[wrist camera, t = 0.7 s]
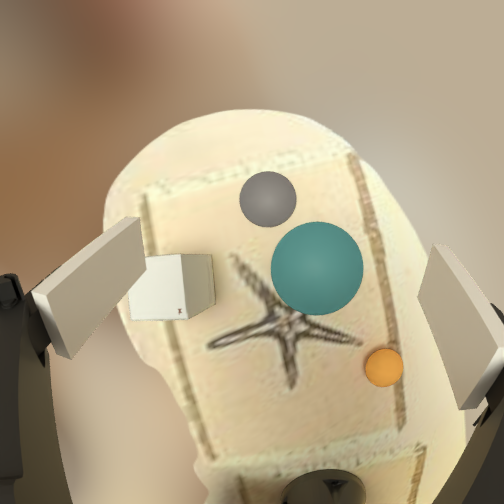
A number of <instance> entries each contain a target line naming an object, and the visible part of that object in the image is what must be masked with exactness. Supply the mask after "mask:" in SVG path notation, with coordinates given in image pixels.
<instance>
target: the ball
mask: <svg viewBox="0 0 504 504" xmlns="http://www.w3.org/2000/svg"><path fill="white" fill-rule="evenodd" d="M402 372H403V361H402V359H401V357H400V355H399V354H398V353H397V352H395V351H393V350H391V349H381V350H378V351H376V352H374V353H373V354H372V355H371V356H370V357H369V359H368V361H367V363H366V375H367V378H368V379H369V381H370V382H371V383H372V384H374V385H376V386H379V387H387V386H390V385H392V384H394V383H395V382H397V381H398V379H399V378H400V377H401V375H402Z"/></svg>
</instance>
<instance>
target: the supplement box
mask: <svg viewBox="0 0 504 504" xmlns="http://www.w3.org/2000/svg"><path fill="white" fill-rule="evenodd" d="M145 261H146V268H147V270H146V271H145V272H144V273H143V274H142V276H141V277H140V278H139V279H138V280H137V281H136V282H135V284H134V285H133V286H132V287H131V288H130V289H129V291H128V299H129V310H130V319H131V320H132V321H163V320H188V319H190V318H192V317H194V316H195V315H197V314H199V313H201V312H202V311H204V310H206V309H208V308H209V307H211V306H213V305H215V304H216V301H215V290H214V280H213V268H212V258H211V255H205V254H168V255H156V256H147V257H145Z"/></svg>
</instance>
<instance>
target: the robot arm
mask: <svg viewBox="0 0 504 504" xmlns="http://www.w3.org/2000/svg"><path fill="white" fill-rule="evenodd" d="M146 270H147V268H146V261H145V254H144V247H143V240H142V232H141V224H140V217H125V218H123V219H122V220H121V221H119V222H118V223H116V224H115V225H114V226H112V227H111V228H110V229H108V230H107V231H106V232H104V233H103V234H102V235H100V236H99V237H98V238H96V239H95V240H94V241H92V242H91V243H90V244H88V245H87V246H86V247H85V248H83V249H82V250H81V251H79V252H78V253H77V254H76V255H74V256H73V257H72V258H71V259H69V260H68V261H67V262H66V263H64V264H63V265H61V266H59V267H58V268H57V269H55V270H54V271H53V272H52V273H51V274H49V275H48V276H47V277H46V278H45V280H42V281H41V282H40V283H39V284H37V285H36V286H35V287H34V288H33V289H32V290H30V291H29V292H28V293H27V294H26V295H25V296H24V293H23V290H22V287H21V284H20V281H19V278H18V276H17V275H16V274H11V273H10V274H4V275H1V276H0V504H73V503H72V500H71V496H70V492H69V488H68V484H67V480H66V476H65V472H64V468H63V463H62V458H61V453H60V448H59V443H58V436H57V430H56V423H55V416H54V409H53V399H52V389H51V377H50V363H49V353H48V351H47V348H46V347H47V346H48V345H49V344H50V343H52V345H53V347H54V349H55V352H56V354H58V355H60V356H63V357H66V358H68V359H72V358H73V357H74V356H75V355H76V353H77V352H78V351H79V349H80V348H81V347H82V346H83V344H84V343H85V342H86V341H87V340H88V338H89V337H90V336H91V335H92V333H93V332H94V331H95V330H96V328H97V327H98V326H99V325H100V323H101V322H102V321H103V320H104V319H105V317H106V316H107V315H108V314H109V313H110V311H111V310H112V309H113V308H114V307H115V306H116V305H117V303H118V302H119V301H120V300H121V299H122V297H123V296H124V295H125V294H126V293H127V292H128V291H129V289H130V288H131V287H132V286H133V285H134V284H135V282H136V281H137V280H138V279H139V278H140V277H141V276H142V274H143V273H144V272H145V271H146ZM418 300H419V302H420V304H421V307H422V309H423V311H424V314H425V316H426V319H427V321H428V324H429V326H430V329H431V331H432V334H433V336H434V339H435V341H436V344H437V347H438V349H439V352H440V355H441V357H442V360H443V363H444V366H445V369H446V372H447V375H448V377H449V380H450V383H451V387H452V390H453V393H454V396H455V399H456V403H457V406H458V409H459V410H466V409H475V408H477V407H478V406H479V404H480V403H481V401H482V400H483V399H484V397H485V396H486V399H487V402H488V406H487V407H486V409H485V410H484V411H483V412H482V414H481V415H480V416H479V418H478V419H477V420H476V421H475V423H474V424H473V426H476V424H477V423H478V424H477V426H476V428H475V431H474V433H473V435H472V437H471V439H470V441H469V443H468V445H467V446H466V448H465V450H464V452H463V454H462V456H461V458H460V459H459V461H458V463H457V465H456V466H455V468H454V470H453V472H452V473H451V475H450V477H449V478H448V480H447V481H446V483H445V485H444V486H443V488H442V489H441V491H440V492H439V494H438V496H437V497H436V498H435V500H434V501H433V503H432V504H504V315H503V313H502V312H501V311H500V310H499V309H498V308H497V307H496V306H495V305H493V304H492V303H489V302H488V300H487V298H486V297H485V296H484V294H483V293H482V291H481V290H480V288H479V287H478V285H477V284H476V283H475V281H474V280H473V279H472V278H471V276H470V275H469V273H468V272H467V270H466V269H465V268H464V267H463V265H462V264H461V262H460V261H459V260H458V259H457V257H456V256H455V255H454V253H453V252H452V251H451V249H450V248H449V247H448V246H447V245H439V244H433V245H432V249H431V252H430V256H429V260H428V264H427V267H426V271H425V274H424V277H423V281H422V284H421V287H420V290H419V294H418ZM365 501H366V493H365V489H364V486H363V483H362V482H361V480H360V479H359V478H358V477H356V476H355V475H353V474H351V473H348V472H345V471H340V470H320V471H315V472H311V473H308V474H305V475H303V476H300V477H298V478H297V479H295V480H293V481H292V482H291V483H290V484H289V485H288V486H287V487H286V488H285V489H284V491H283V493H282V495H281V503H280V504H365Z"/></svg>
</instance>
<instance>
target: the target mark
mask: <svg viewBox="0 0 504 504" xmlns="http://www.w3.org/2000/svg"><path fill="white" fill-rule="evenodd" d="M271 276H272V281H273V284H274V287H275V289H276V291H277V293H278V294H279V296H280V297H281V298H282V300H283V301H284V302H285V303H286V304H287V305H289V306H290V307H291V308H293V309H295V310H297V311H299V312H301V313H304V314H308V315H325V314H329V313H332V312H335V311H337V310H339V309H341V308H342V307H344V306H345V305H346V304H347V303H349V301H350V300H351V299H352V298H353V297H354V295H355V294H356V292H357V291H358V289H359V286H360V284H361V281H362V277H363V260H362V256H361V252H360V250H359V248H358V246H357V244H356V242H355V241H354V240H353V238H352V237H351V236H350V235H349V234H348V233H347V232H345V231H344V230H343V229H341V228H339V227H337V226H335V225H332V224H329V223H325V222H311V223H306V224H302V225H300V226H298V227H296V228H294V229H292V230H291V231H289V232H288V233H287V234H286V235H285V236H284V237H283V238H282V239H281V241H280V242H279V243H278V245H277V247H276V249H275V251H274V254H273V257H272V262H271Z"/></svg>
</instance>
